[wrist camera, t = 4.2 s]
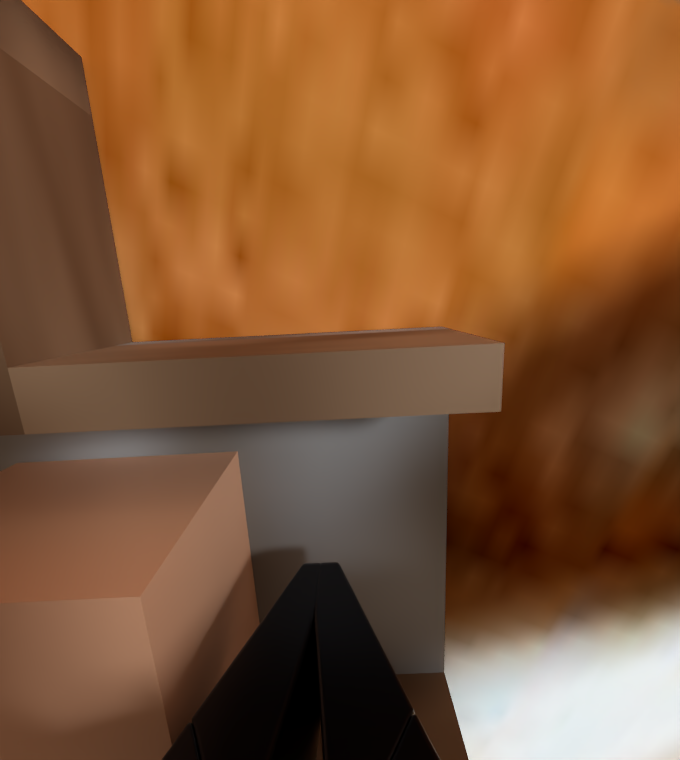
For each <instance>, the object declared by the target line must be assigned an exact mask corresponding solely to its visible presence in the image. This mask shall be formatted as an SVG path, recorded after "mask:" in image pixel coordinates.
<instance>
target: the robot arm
mask: <svg viewBox="0 0 680 760" xmlns="http://www.w3.org/2000/svg"><path fill="white" fill-rule="evenodd" d="M320 723H321V738H322V752H323V760H440V758H439V756H438V754H437V752H436V750H435V749H434V747H433V745H432V743H431V741H430V739H429V737H428V735H427V733H426V731H425V730H424V728H423V726H422V724H421V722H420V720H419V718H418V716H417V715H415V712H414V709H413V707H412V705H411V703H410V701H409V699H408V697H407V695H406V693H405V691H404V689H403V687H402V685H401V683H400V681H399V679H398V677H397V675H396V673H395V671H394V669H393V667H392V665H391V663H390V662H389V660H388V658H387V656H386V654H385V652H384V650H383V648H382V646H381V644H380V642H379V640H378V638H377V636H376V634H375V632H374V630H373V628H372V626H371V624H370V622H369V620H368V618H367V616H366V615H365V613H364V611H363V609H362V607H361V605H360V603H359V601H358V599H357V597H356V595H355V593H354V591H353V589H352V587H351V585H350V583H349V581H348V579H347V577H346V575H345V573H344V571H343V569H342V568H341V566H340V564H339V563H338V562H323V563H305V564H303V565H302V566H301V567H300V569H299V570H298V571H297V573H296V574H295V575H294V577H293V578H292V580H291V581H290V582H289V584H288V585H287V587H286V588H285V589H284V591H283V592H282V594H281V595H280V596H279V598H278V599H277V600H276V602H275V603H274V605H273V606H272V607H271V609H270V610H269V612H268V613H267V614H266V616H265V617H264V619H263V620H262V621H261V623H260V624H259V626H258V627H257V628H256V630H255V631H254V632H253V634H252V635H251V637H250V638H249V639H248V641H247V642H246V644H245V645H244V646H243V648H242V649H241V651H240V652H239V653H238V655H237V656H236V658H235V659H234V660H233V662H232V663H231V664H230V666H229V667H228V669H227V670H226V671H225V673H224V674H223V676H222V677H221V678H220V680H219V681H218V683H217V684H216V685H215V687H214V688H213V689H212V691H211V692H210V694H209V695H208V696H207V698H206V699H205V701H204V702H203V703H202V705H201V706H200V708H199V709H198V710H197V712H196V713H195V715H194V716H193V717H192V723H188V724H187V725H186V727H185V728H184V729H183V731H182V732H181V734H180V735H179V736H178V738H177V739H176V741H175V742H174V743H173V745H172V746H171V748H170V749H169V750H168V752H167V753H166V754H165V756H164V757H163V758H162V760H316V756H317V747H318V739H319V731H320Z"/></svg>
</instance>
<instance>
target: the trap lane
mask: <svg viewBox="0 0 680 760" xmlns="http://www.w3.org/2000/svg"><path fill="white" fill-rule="evenodd" d="M504 345H505V343H502V342H498V341H495V340H491V339H487V338H483V337H479V336H476V335H472V334H468V333H464V332H460V331H456V330H453V329H449V328H445V327H427V328H407V329H387V330H367V331H347V332H328V333H308V334H288V335H268V336H248V337H229V338H209V339H189V340H169V341H149V342H132V338H131V332H130V327H129V321H128V316H127V310H126V305H125V299H124V293H123V288H122V282H121V277H120V271H119V265H118V260H117V254H116V249H115V243H114V237H113V232H112V226H111V221H110V215H109V209H108V204H107V198H106V193H105V187H104V181H103V176H102V170H101V165H100V159H99V153H98V148H97V142H96V137H95V131H94V126H93V120H92V114H91V109H90V103H89V98H88V92H87V86H86V81H85V75H84V70H83V64H82V58H81V56H80V55H78V54H77V53H76V52H75V51H74V50H73V49H72V48H71V47H70V46H69V45H68V44H67V43H66V42H65V41H64V40H63V39H61V38H60V37H59V36H58V35H57V34H56V33H55V32H54V31H53V30H52V29H51V28H50V27H49V26H48V25H47V24H46V23H44V22H43V21H42V20H41V19H40V18H39V17H38V16H37V15H36V14H35V13H34V12H33V11H32V10H31V9H30V8H29V7H27V6H26V5H25V4H24V3H23V2H22V1H21V0H0V471H2V470H4V469H6V468H8V467H10V466H12V465H14V464H16V463H25V462H44V461H63V460H82V459H101V458H120V457H140V456H159V455H178V454H197V453H216V452H235V451H238V458H239V466H240V474H241V482H242V489H243V497H244V505H245V513H246V521H247V529H248V536H249V544H250V552H251V560H252V568H253V576H254V584H255V591H256V599H257V607H258V615H259V623H261V621H262V620H263V619H264V617H265V616H266V614H267V613H268V612H269V610H270V609H271V607H272V606H273V605H274V603H275V602H276V600H277V599H278V598H279V596H280V595H281V594H282V592H283V591H284V589H285V588H286V587H287V585H288V584H289V582H290V581H291V580H292V578H293V577H294V575H295V574H296V573H297V571H298V570H299V569H300V567H301V566H302V565H303V564H305V563H323V562H338V563H339V564H340V566H341V568H342V569H343V571H344V573H345V575H346V577H347V579H348V581H349V583H350V585H351V587H352V589H353V591H354V593H355V595H356V597H357V599H358V601H359V603H360V605H361V607H362V609H363V611H364V613H365V615H366V616H367V618H368V620H369V622H370V624H371V626H372V628H373V630H374V632H375V634H376V636H377V638H378V640H379V642H380V644H381V646H382V648H383V650H384V652H385V654H386V656H387V658H388V660H389V662H390V663H391V665H392V667H393V669H394V671H395V673H396V675H397V677H398V679H399V681H400V683H401V685H402V687H403V689H404V691H405V693H406V695H407V697H408V699H409V701H410V703H411V705H412V707H413V709H414V712H415V715H417V716H418V718H419V720H420V722H421V724H422V726H423V728H424V730H425V731H426V733H427V735H428V737H429V739H430V741H431V743H432V745H433V747H434V749H435V750H436V752H437V754H438V756H439V758H440V760H468V756H467V753H466V749H465V745H464V742H463V738H462V735H461V731H460V728H459V724H458V720H457V717H456V713H455V710H454V706H453V703H452V699H451V696H450V692H449V688H448V685H447V681H446V678H445V674H444V643H445V587H446V532H447V476H448V420H449V414H462V413H483V412H501V403H502V384H503V364H504ZM316 760H323V752H322V738H321V723H320V731H319V739H318V747H317V756H316Z"/></svg>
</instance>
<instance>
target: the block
mask: <svg viewBox="0 0 680 760" xmlns="http://www.w3.org/2000/svg"><path fill="white" fill-rule="evenodd" d="M259 624H260V623H259V615H258V607H257V599H256V591H255V584H254V576H253V568H252V560H251V552H250V544H249V536H248V529H247V521H246V513H245V505H244V497H243V489H242V482H241V474H240V466H239V458H238V451H235V452H216V453H197V454H178V455H159V456H140V457H120V458H101V459H82V460H63V461H44V462H25V463H16V464H14V465H12V466H10V467H8V468H6V469H4V470H2V471H0V760H162V758H163V757H164V756H165V754H166V753H167V752H168V750H169V749H170V748H171V746H172V745H173V743H174V742H175V741H176V739H177V738H178V736H179V735H180V734H181V732H182V731H183V729H184V728H185V727H186V725H187V724H188V723H192V717H193V716H194V715H195V713H196V712H197V710H198V709H199V708H200V706H201V705H202V703H203V702H204V701H205V699H206V698H207V696H208V695H209V694H210V692H211V691H212V689H213V688H214V687H215V685H216V684H217V683H218V681H219V680H220V678H221V677H222V676H223V674H224V673H225V671H226V670H227V669H228V667H229V666H230V664H231V663H232V662H233V660H234V659H235V658H236V656H237V655H238V653H239V652H240V651H241V649H242V648H243V646H244V645H245V644H246V642H247V641H248V639H249V638H250V637H251V635H252V634H253V632H254V631H255V630H256V628H257V627H258V626H259Z"/></svg>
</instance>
